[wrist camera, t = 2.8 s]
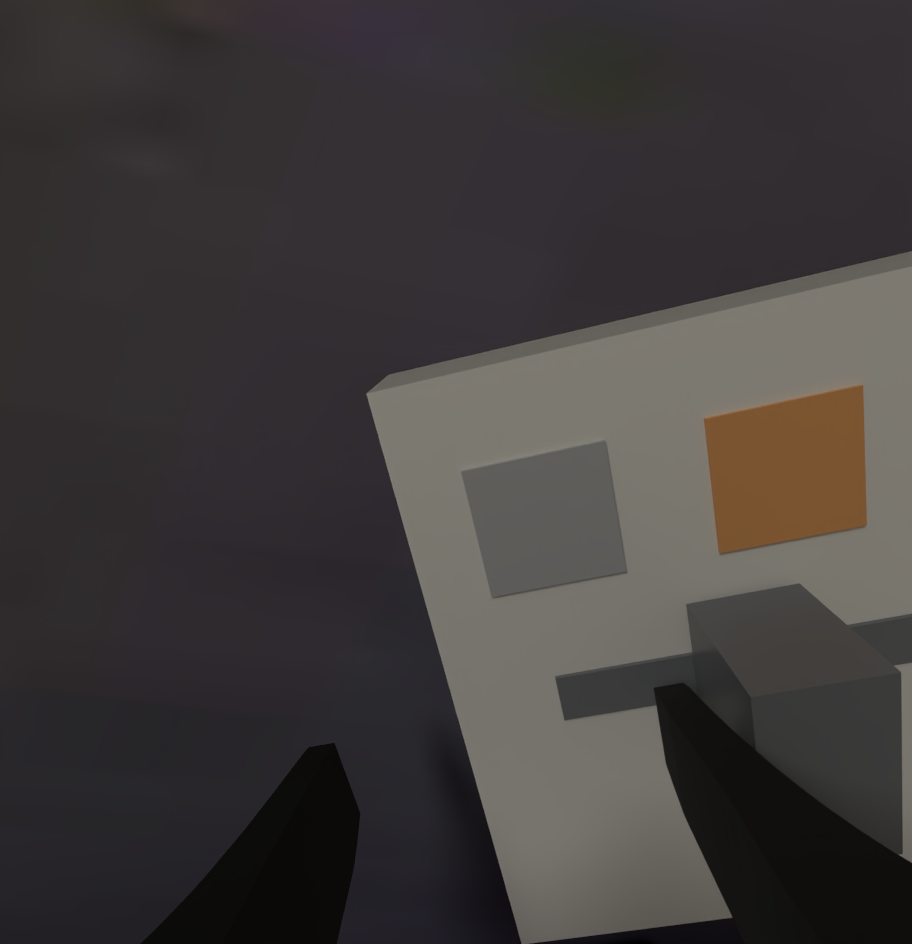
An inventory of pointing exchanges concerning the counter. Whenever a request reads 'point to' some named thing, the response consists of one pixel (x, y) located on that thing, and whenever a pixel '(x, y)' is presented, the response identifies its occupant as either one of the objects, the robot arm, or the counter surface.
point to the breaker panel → (646, 555)
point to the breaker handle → (806, 700)
